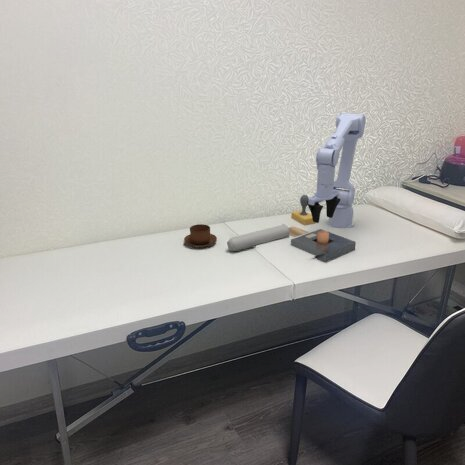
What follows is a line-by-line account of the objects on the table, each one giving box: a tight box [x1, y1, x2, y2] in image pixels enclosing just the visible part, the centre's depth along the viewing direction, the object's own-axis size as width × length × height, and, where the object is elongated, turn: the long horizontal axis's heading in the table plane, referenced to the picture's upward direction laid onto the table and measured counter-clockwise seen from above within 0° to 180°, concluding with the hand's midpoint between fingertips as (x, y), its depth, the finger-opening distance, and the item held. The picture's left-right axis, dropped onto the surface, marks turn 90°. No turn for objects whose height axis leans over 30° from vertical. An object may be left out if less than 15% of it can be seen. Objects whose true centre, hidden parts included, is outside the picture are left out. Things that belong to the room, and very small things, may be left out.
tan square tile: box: [288, 225, 309, 238], centre depth 167 cm, size 8×8×1 cm
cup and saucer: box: [183, 223, 217, 248], centre depth 159 cm, size 12×12×6 cm
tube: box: [226, 223, 290, 252], centre depth 158 cm, size 5×5×25 cm
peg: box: [317, 230, 330, 245], centre depth 154 cm, size 4×4×6 cm
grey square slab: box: [290, 228, 357, 263], centre depth 154 cm, size 16×16×3 cm
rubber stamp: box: [290, 194, 316, 226], centre depth 177 cm, size 10×6×12 cm, turn 26°
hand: (322, 219), depth 156 cm, fingers open, 7 cm apart
